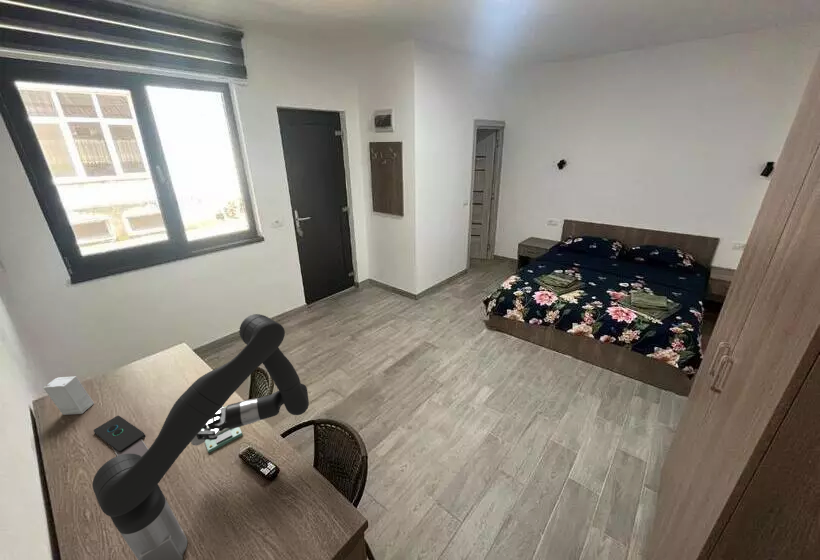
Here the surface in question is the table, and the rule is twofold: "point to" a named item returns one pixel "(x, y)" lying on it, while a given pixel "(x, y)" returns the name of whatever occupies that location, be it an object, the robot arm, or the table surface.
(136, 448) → the smartphone
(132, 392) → the table surface
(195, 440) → the rook chess piece
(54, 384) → the skincare box
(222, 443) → the header board
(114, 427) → the smart home device
